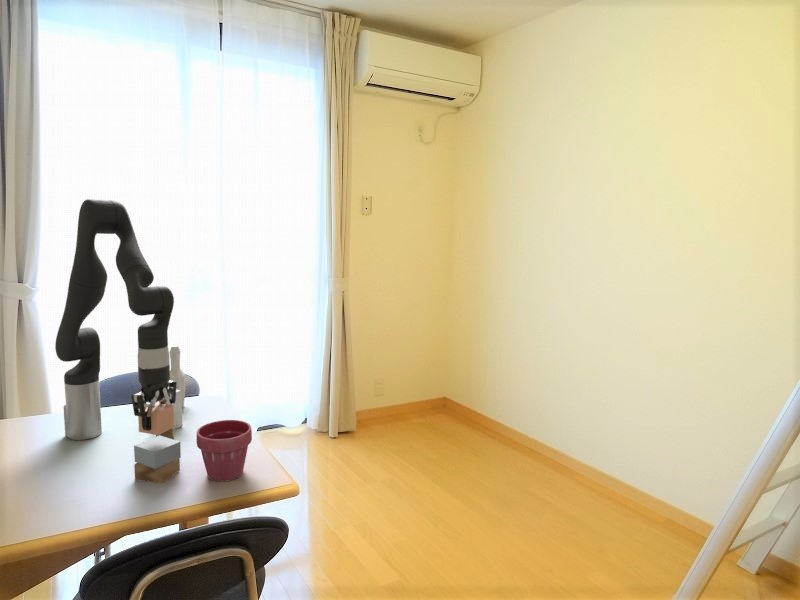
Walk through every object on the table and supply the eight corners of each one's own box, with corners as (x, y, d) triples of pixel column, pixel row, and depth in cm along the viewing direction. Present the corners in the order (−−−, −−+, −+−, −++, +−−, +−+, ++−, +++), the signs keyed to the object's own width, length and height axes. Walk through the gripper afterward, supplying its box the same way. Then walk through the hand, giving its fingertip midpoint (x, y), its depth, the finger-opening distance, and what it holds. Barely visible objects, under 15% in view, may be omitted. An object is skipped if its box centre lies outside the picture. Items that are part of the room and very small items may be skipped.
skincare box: (183, 426, 186) (182, 390, 184) (171, 430, 182) (170, 394, 180) (171, 421, 189) (170, 387, 187) (159, 425, 185) (158, 390, 184)
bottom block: (135, 480, 149) (134, 464, 148) (152, 467, 157) (152, 452, 156) (163, 484, 148) (162, 467, 147) (179, 470, 156) (179, 454, 155)
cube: (139, 431, 148) (138, 409, 147) (155, 424, 154) (154, 402, 153) (157, 435, 146) (157, 413, 146) (173, 427, 152) (173, 405, 151)
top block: (134, 461, 150) (133, 445, 149) (160, 450, 157) (159, 435, 156) (155, 468, 146) (154, 452, 146) (180, 457, 153) (180, 441, 153)
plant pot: (195, 466, 157) (194, 422, 155) (247, 459, 163) (246, 416, 161) (200, 490, 145) (198, 442, 142) (256, 481, 150) (256, 435, 148)
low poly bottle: (163, 408, 201) (161, 347, 197) (173, 402, 207) (171, 343, 203) (180, 410, 200) (178, 349, 196) (189, 404, 206) (188, 344, 202)
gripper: (161, 355, 155) (163, 414, 158) (120, 368, 142) (123, 433, 144) (184, 358, 153) (186, 418, 156) (145, 372, 140) (147, 437, 142)
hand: (156, 425), depth 150 cm, fingers closed on cube, 6 cm apart
